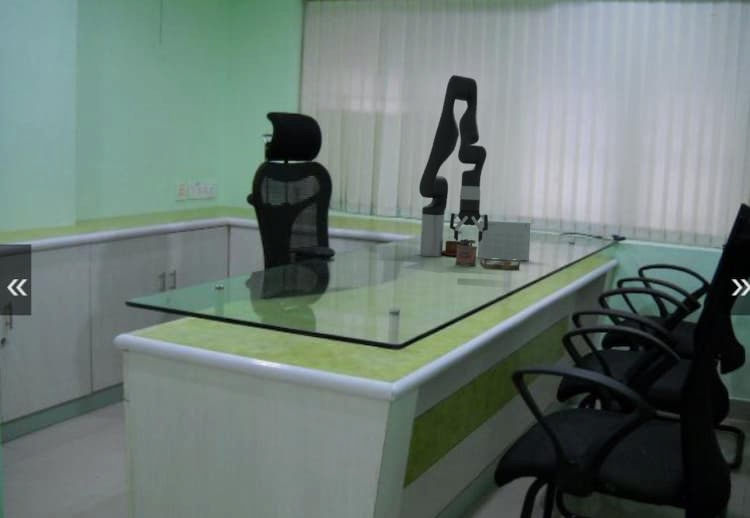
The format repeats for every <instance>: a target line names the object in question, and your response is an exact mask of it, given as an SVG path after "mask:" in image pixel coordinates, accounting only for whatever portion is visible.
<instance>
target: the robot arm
mask: <svg viewBox="0 0 750 518" xmlns="http://www.w3.org/2000/svg"><path fill="white" fill-rule="evenodd" d="M456 100H458V101H463V102H466V107H467V108H466V109H465V111H464V113H463V114H462V116H461V117H460V120H459V124H458V123H457V120H456V116H455V109H454V108H455V102H456ZM477 112H478V84H477V81H476V80H475V78H473V77H469V76H468V77H467V76H463V75H458V74H453V75H452V76H451V77H450V78H449V80H448V82H447V87H446V90H445V95H444V99H443V106H442V110H441V113H440V117H439V121H438V124H437V127H436V131H435V134H434V139H433V142H432V147H431V150H430V153H429V156H428V160H427V162H426V166H425V167H424V170H423V173H422V176H421V178H420V181H419V188H418V189H419V190H418V191H419V193H420V196H421V197H423V198H426V199H431V202H430V203H429V204H427V205H424V206H423V207H422V211H421V212H422V214H421V231H420V245H419V247H420V248H419V256H425V257H442V256H443V255H442V250H443V248H444V247H443V246H444V227H445V212H446V209H447V206H448V205H447V203H448V194H449V182H448V180H447V178H446V177H445V176H442V175H438V173H439V170H440V169H441V167H442V165H443V164H444V163H445V162H446V161H447V160H448V159H449V158H450V157H451V155H452V154H453V153H454V151H455V149H456V147H457V143H458V139H459V136H460V142H459V150H458V154H457V157H458V158H457V159H458V160H459V162H460V163H462V164H463V165H474V167H473V168H472V169H468V170H464V171H462V173H461V187H460V194H459V212H458V213H453V212H451V214H450V218H449V219H450V220H449V229H451V230H453V231H454V232H453V238H454V240H455V241H459V230H460V228H461V227H462V226H463V225H464V226H469V225H470V226H474V225H475V227H476V228H477V229H478V234H477V241H478V242H480V240H482V234H483V231H485V230H488V221H489V220H488V219H489V215H488V214H481V213H480V212H481V211H480V207H481V176H482V171H483V167H484V165H485V163H486V160H487V154H488V153H487V149H486V147H484V146H483V145H475V144H476V143H478V141H479V139H480V134H479V132H480V131H479V127H478V119H477V118H478V116H477V115H478V113H477ZM458 125H459V126H458ZM457 217H458V219H459V222H458V223H457V224H456V226H454V223H455V220H457ZM480 219H481V221H484V227H483V228H481V226H480V222H478V221H480Z"/></svg>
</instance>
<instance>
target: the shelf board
mask: <svg viewBox="0 0 750 518" xmlns="http://www.w3.org/2000/svg"><path fill="white" fill-rule="evenodd" d="M520 262H521V261H520V260H513V259H492V258H484V259H482V260H481V259H480V261H479V264H480V265H481V266H482V267H483V268H484V269H494V270H495V269H497V270H498V269H499V270H517V271H518V270H520V264H521V263H520Z"/></svg>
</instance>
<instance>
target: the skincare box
mask: <svg viewBox="0 0 750 518" xmlns="http://www.w3.org/2000/svg"><path fill="white" fill-rule="evenodd" d="M479 224H480V226H481V228H483V227H484V220H479ZM531 224H532V223H531V222H523V221H522V222H519V221H501V220H499V221H498V220H497V221H496V220H488V230H485V231H483V234H482V240H480V242H478V245H477V251H478V252H477V258H478V259H485V258H497V259H498V258H499V259H516V260H526V261H525V262H529V261H530V242H531Z"/></svg>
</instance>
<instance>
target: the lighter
mask: <svg viewBox="0 0 750 518" xmlns="http://www.w3.org/2000/svg"><path fill="white" fill-rule="evenodd" d="M459 242H460V245H457V256H455V257H456V258H455V259H456V260H455V265H456V266H462V267H463V266H465V267H477V263H476V261H477V250H478V245H477V246H474V245H473V244H476V240H474V239H468V238H465V239H460V240H459Z"/></svg>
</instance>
